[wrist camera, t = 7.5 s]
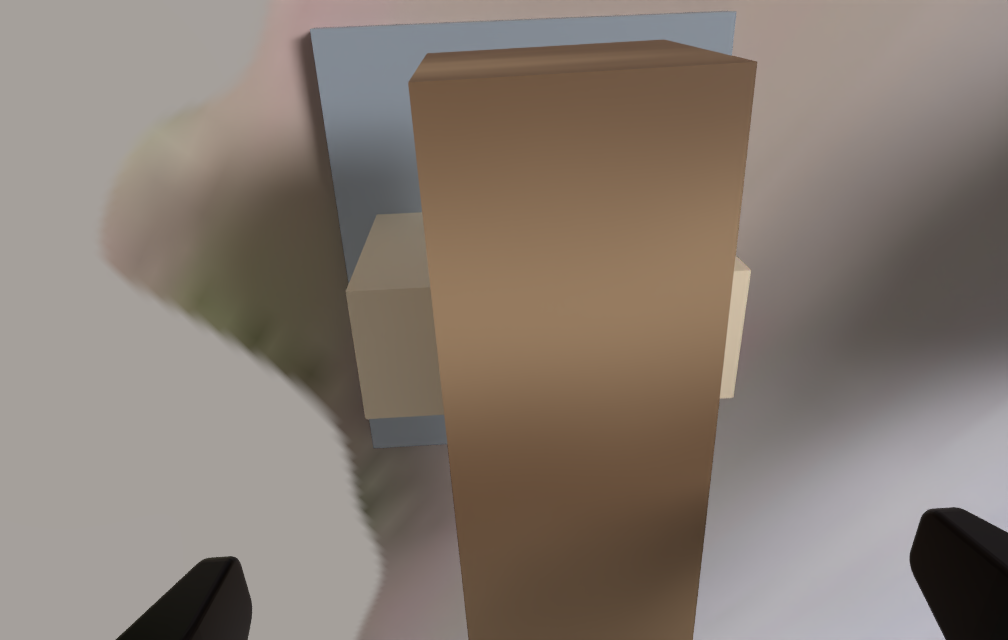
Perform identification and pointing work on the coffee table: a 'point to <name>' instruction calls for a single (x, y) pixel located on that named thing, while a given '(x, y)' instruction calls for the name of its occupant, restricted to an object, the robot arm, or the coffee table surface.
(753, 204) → the coffee table surface
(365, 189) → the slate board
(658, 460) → the walnut rod
